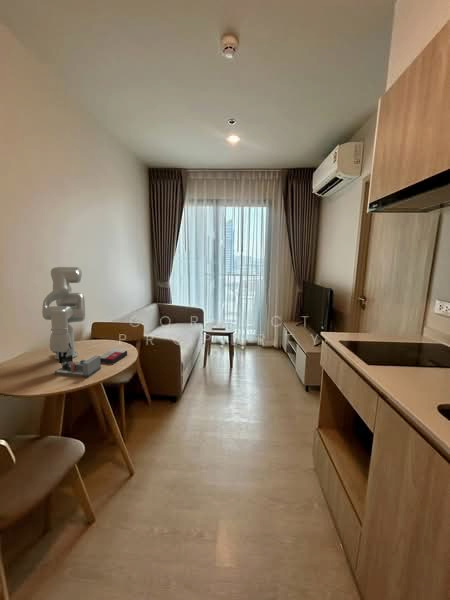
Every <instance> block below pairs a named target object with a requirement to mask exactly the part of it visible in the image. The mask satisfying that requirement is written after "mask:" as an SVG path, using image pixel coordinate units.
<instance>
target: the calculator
mask: <svg viewBox="0 0 450 600" xmlns="http://www.w3.org/2000/svg"><path fill="white" fill-rule="evenodd" d="M99 356H100V362H101V363H102V364H110V365H115V364H116V363H117V362H119V361H121V360H122V359H124V358H126V357H128V350H126V349H117V348H111V349H110V350H108V351H107V352H105V353H102V354H101V355H99ZM125 356H126V357H125ZM114 363H115V364H114Z"/></svg>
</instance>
